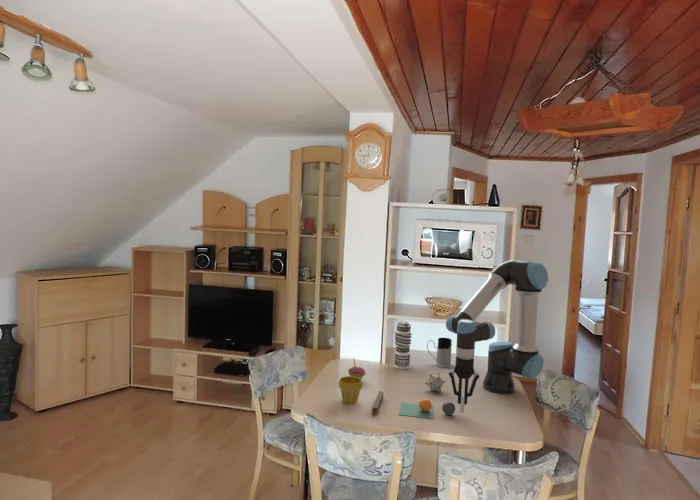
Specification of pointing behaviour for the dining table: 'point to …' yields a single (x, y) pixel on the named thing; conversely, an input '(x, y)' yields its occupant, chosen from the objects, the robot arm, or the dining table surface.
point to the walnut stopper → (377, 403)
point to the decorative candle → (402, 345)
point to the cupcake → (356, 371)
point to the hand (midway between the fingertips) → (461, 411)
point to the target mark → (415, 411)
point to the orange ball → (425, 405)
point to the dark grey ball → (448, 408)
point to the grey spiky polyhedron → (435, 382)
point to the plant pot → (350, 388)
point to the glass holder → (443, 352)
